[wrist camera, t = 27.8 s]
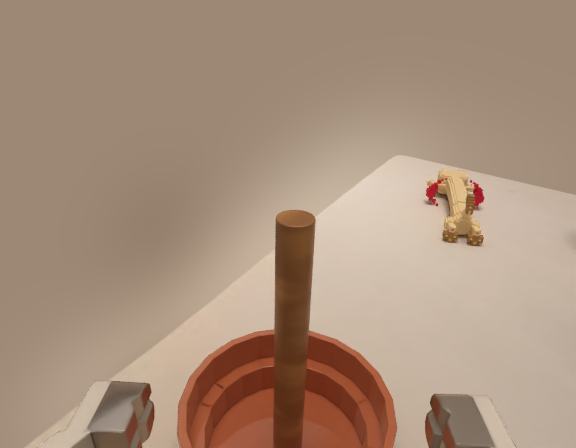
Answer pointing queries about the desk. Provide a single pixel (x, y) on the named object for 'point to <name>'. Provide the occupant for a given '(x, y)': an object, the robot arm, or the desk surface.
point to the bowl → (260, 398)
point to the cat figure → (458, 204)
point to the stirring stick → (291, 323)
